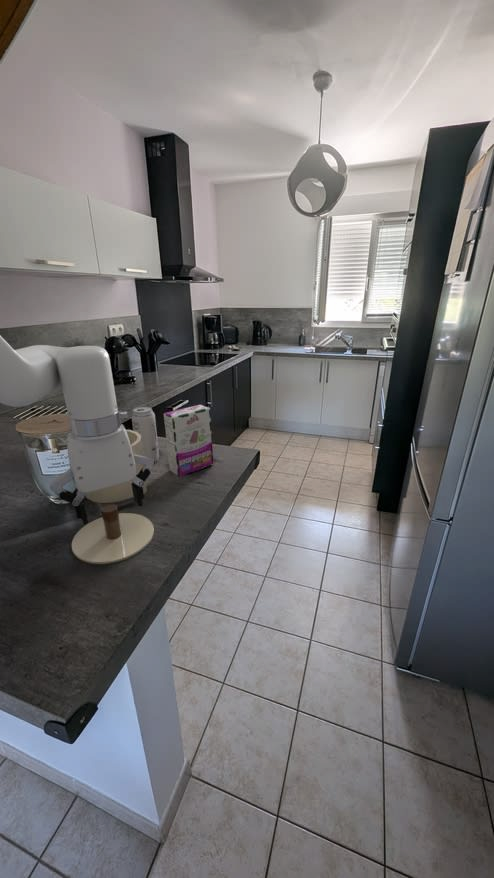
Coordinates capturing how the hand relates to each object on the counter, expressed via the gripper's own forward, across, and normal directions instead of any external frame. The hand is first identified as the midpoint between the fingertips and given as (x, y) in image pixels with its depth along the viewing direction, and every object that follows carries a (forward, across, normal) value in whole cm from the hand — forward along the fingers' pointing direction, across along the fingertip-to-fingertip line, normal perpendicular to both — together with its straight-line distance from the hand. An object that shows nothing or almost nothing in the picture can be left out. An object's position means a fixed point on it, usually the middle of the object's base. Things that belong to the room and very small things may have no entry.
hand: (112, 511), depth 65 cm
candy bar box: (+7, -24, -19) cm, 32 cm away
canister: (+6, -4, -17) cm, 19 cm away
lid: (+6, 0, 0) cm, 6 cm away
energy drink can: (+6, -16, -30) cm, 35 cm away
